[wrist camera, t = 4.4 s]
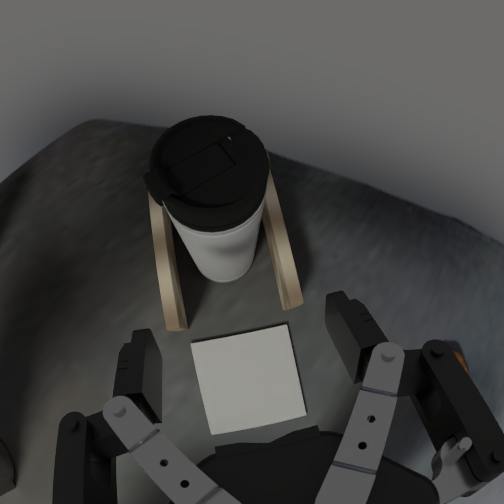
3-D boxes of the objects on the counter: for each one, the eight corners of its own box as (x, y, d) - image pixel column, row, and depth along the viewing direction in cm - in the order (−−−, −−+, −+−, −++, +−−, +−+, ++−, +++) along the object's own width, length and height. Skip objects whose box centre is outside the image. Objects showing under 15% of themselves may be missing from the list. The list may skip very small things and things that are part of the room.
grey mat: (305, 414, 30) (306, 415, 30) (211, 433, 29) (211, 434, 29) (286, 324, 33) (286, 324, 32) (191, 343, 32) (190, 343, 32)
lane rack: (294, 308, 33) (306, 301, 28) (177, 331, 32) (164, 329, 26) (263, 179, 37) (267, 152, 31) (157, 199, 36) (144, 175, 30)
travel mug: (181, 249, 34) (121, 147, 15) (231, 216, 36) (227, 89, 16) (213, 297, 33) (180, 241, 14) (265, 261, 34) (298, 166, 15)
